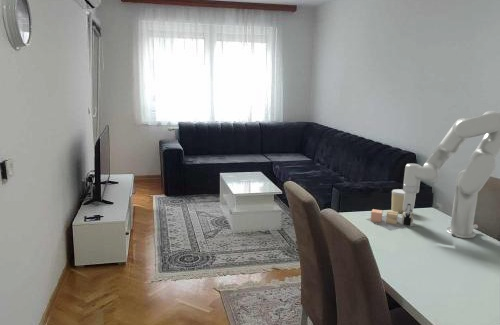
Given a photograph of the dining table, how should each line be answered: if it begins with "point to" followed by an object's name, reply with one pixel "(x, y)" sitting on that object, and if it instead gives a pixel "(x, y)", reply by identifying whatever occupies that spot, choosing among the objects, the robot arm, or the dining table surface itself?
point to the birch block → (411, 218)
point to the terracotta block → (376, 215)
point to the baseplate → (391, 226)
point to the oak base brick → (391, 217)
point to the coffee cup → (397, 200)
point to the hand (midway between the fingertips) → (407, 222)
